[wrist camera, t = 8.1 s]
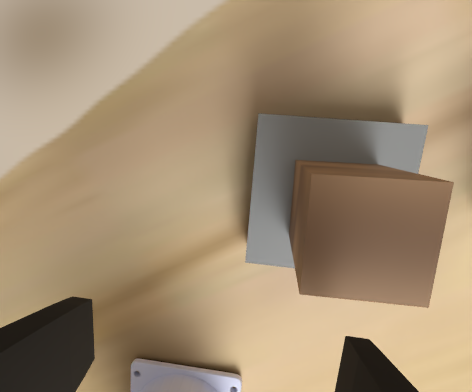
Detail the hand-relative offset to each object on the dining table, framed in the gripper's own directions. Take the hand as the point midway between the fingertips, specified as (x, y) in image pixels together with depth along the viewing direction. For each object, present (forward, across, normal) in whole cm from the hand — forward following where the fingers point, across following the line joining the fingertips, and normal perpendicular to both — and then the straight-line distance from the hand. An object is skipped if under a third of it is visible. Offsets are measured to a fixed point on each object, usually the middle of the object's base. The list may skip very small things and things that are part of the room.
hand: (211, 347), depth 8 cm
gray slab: (+11, -4, -3) cm, 12 cm away
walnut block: (+8, -4, -3) cm, 10 cm away
